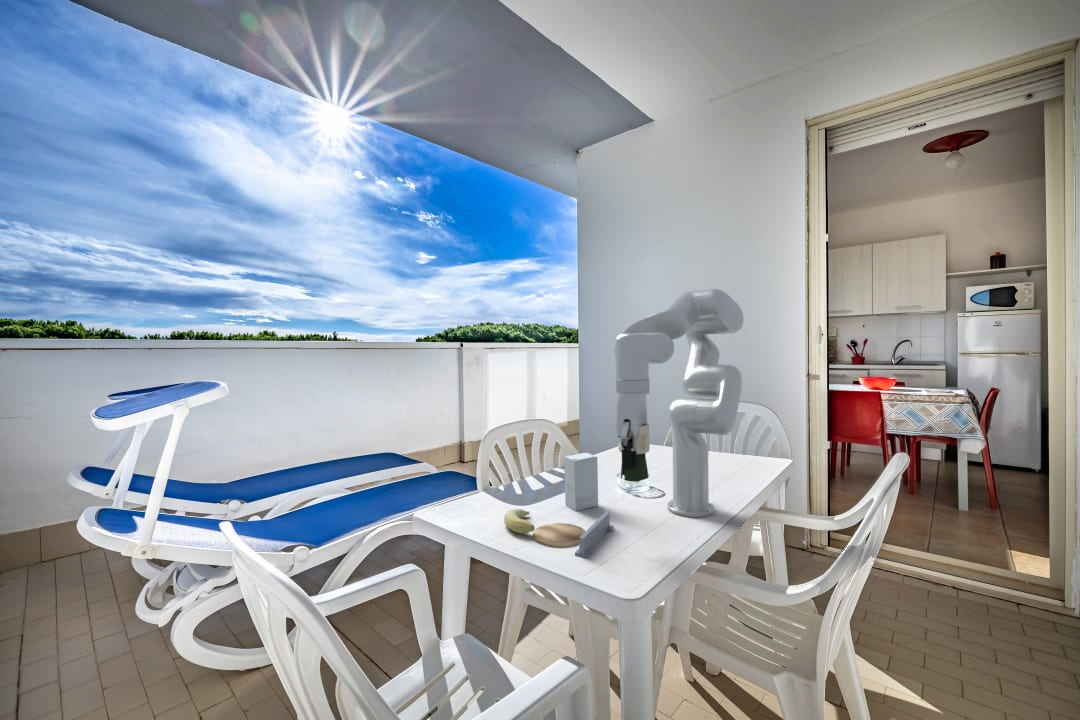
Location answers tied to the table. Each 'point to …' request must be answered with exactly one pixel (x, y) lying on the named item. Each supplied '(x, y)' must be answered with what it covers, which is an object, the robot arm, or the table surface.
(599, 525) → the grey cabinet handle
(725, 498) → the table surface
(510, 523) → the fruit
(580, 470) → the skincare box
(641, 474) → the character mug
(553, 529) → the coaster
